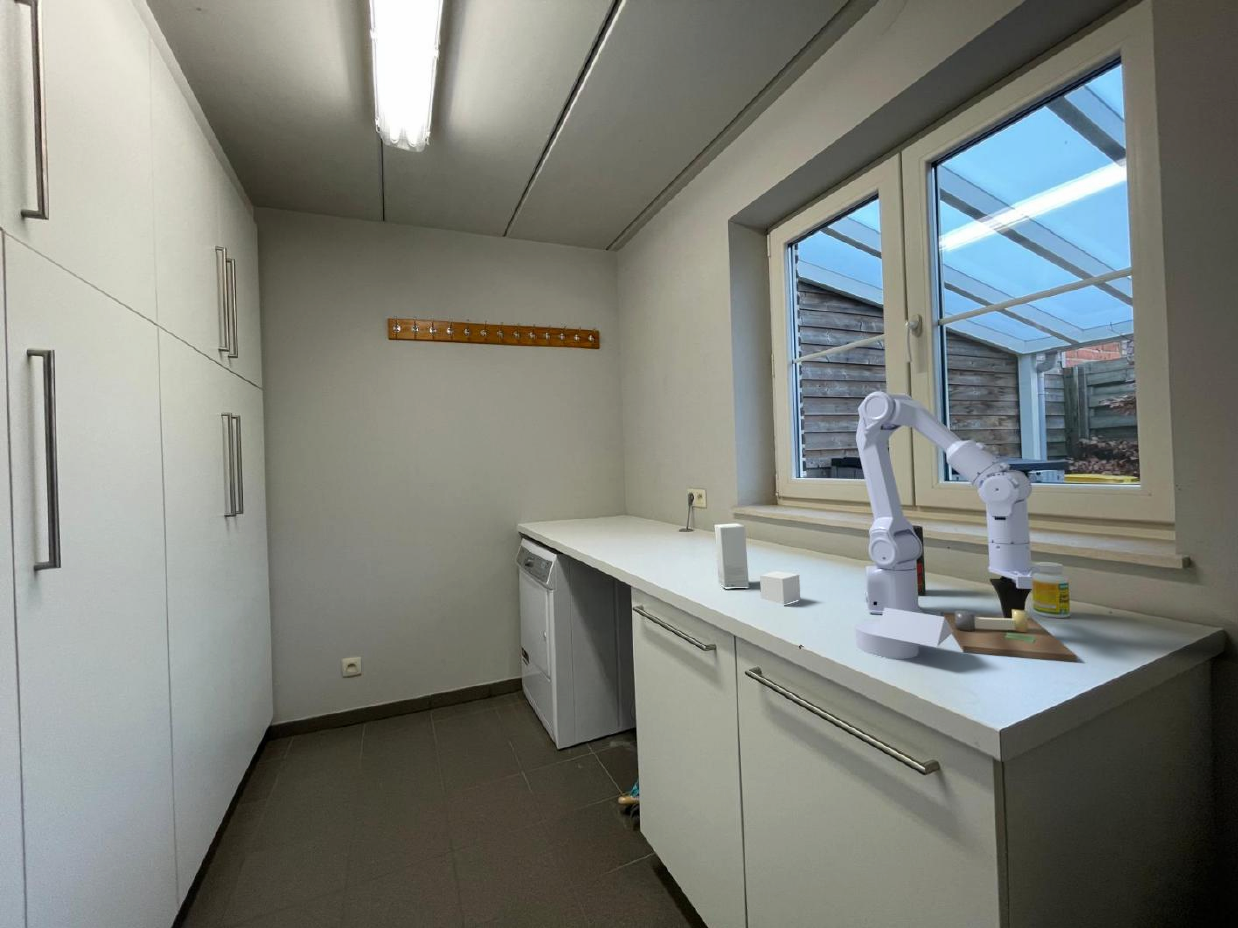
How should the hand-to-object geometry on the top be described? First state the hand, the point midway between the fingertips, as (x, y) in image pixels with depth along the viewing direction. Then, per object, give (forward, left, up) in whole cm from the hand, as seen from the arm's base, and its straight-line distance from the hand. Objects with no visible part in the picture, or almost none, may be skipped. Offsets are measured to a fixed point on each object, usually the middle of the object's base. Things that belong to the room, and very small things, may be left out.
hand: (1013, 621), depth 87 cm
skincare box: (-52, +25, -2) cm, 58 cm away
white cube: (-39, +13, -3) cm, 42 cm away
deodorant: (-12, +27, -2) cm, 30 cm away
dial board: (-2, -2, -2) cm, 4 cm away
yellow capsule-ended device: (-4, -2, -1) cm, 4 cm away
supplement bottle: (+10, +15, -2) cm, 18 cm away
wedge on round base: (-19, -13, -3) cm, 23 cm away
